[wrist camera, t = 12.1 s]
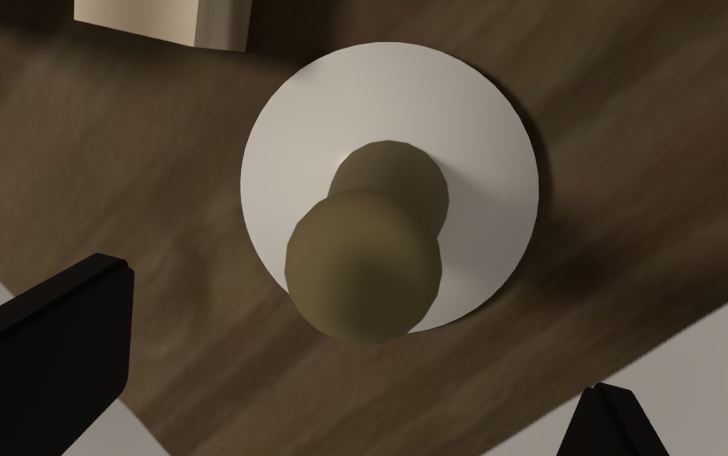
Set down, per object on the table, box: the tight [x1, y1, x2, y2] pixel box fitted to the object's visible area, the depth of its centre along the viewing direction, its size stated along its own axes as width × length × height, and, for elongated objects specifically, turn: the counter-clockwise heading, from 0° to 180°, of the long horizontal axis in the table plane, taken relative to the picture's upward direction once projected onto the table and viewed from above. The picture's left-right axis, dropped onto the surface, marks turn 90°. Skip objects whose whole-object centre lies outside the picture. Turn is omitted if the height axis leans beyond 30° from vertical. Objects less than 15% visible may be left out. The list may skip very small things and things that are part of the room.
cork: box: [284, 140, 449, 345], centre depth 21 cm, size 6×6×11 cm
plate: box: [240, 42, 539, 333], centre depth 27 cm, size 15×15×1 cm
